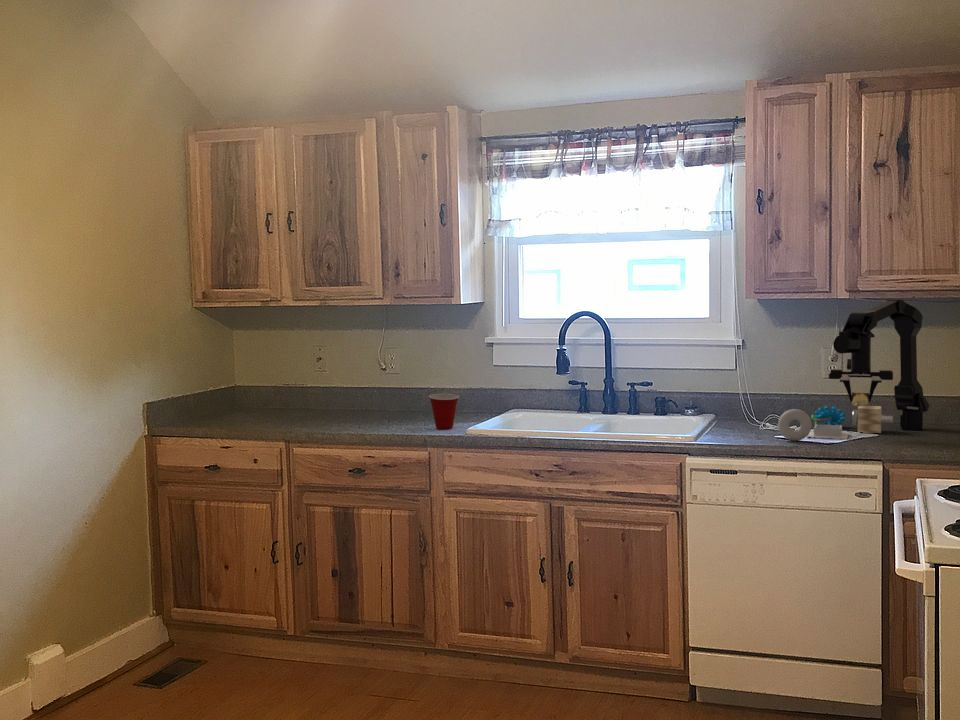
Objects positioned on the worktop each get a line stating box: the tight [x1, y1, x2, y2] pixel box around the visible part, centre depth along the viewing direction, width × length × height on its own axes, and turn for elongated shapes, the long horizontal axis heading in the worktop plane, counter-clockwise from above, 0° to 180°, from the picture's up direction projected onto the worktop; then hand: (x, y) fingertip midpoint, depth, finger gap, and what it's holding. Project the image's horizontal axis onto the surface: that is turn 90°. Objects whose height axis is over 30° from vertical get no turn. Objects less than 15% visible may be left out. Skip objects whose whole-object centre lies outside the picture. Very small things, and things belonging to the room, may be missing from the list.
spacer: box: [851, 391, 870, 407], centre depth 314 cm, size 5×5×4 cm
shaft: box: [851, 409, 894, 426], centre depth 326 cm, size 12×5×5 cm, turn 67°
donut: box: [777, 408, 813, 442], centre depth 310 cm, size 10×3×10 cm, turn 77°
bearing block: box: [857, 405, 882, 434], centre depth 326 cm, size 7×8×8 cm
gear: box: [810, 405, 847, 426], centre depth 339 cm, size 11×6×10 cm
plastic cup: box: [428, 393, 460, 431], centre depth 352 cm, size 11×11×12 cm
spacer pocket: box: [806, 424, 850, 440], centre depth 318 cm, size 12×12×3 cm
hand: (860, 402), depth 314 cm, fingers closed on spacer, 5 cm apart
